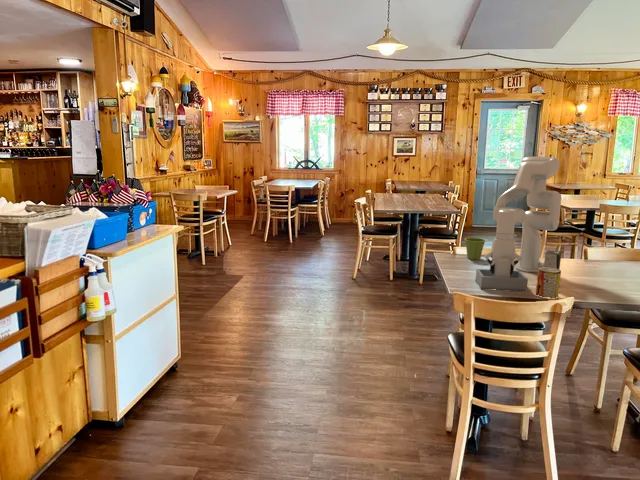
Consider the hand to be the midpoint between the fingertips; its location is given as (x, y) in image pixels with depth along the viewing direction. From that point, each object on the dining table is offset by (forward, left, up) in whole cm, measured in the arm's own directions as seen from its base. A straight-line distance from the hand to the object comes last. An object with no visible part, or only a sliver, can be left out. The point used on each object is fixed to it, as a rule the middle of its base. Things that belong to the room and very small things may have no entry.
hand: (501, 273), depth 219 cm
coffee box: (-24, -6, -6) cm, 25 cm away
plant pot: (+3, -54, -6) cm, 54 cm away
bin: (0, 0, -6) cm, 6 cm away
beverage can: (-17, +12, -6) cm, 22 cm away
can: (0, 0, -4) cm, 4 cm away
